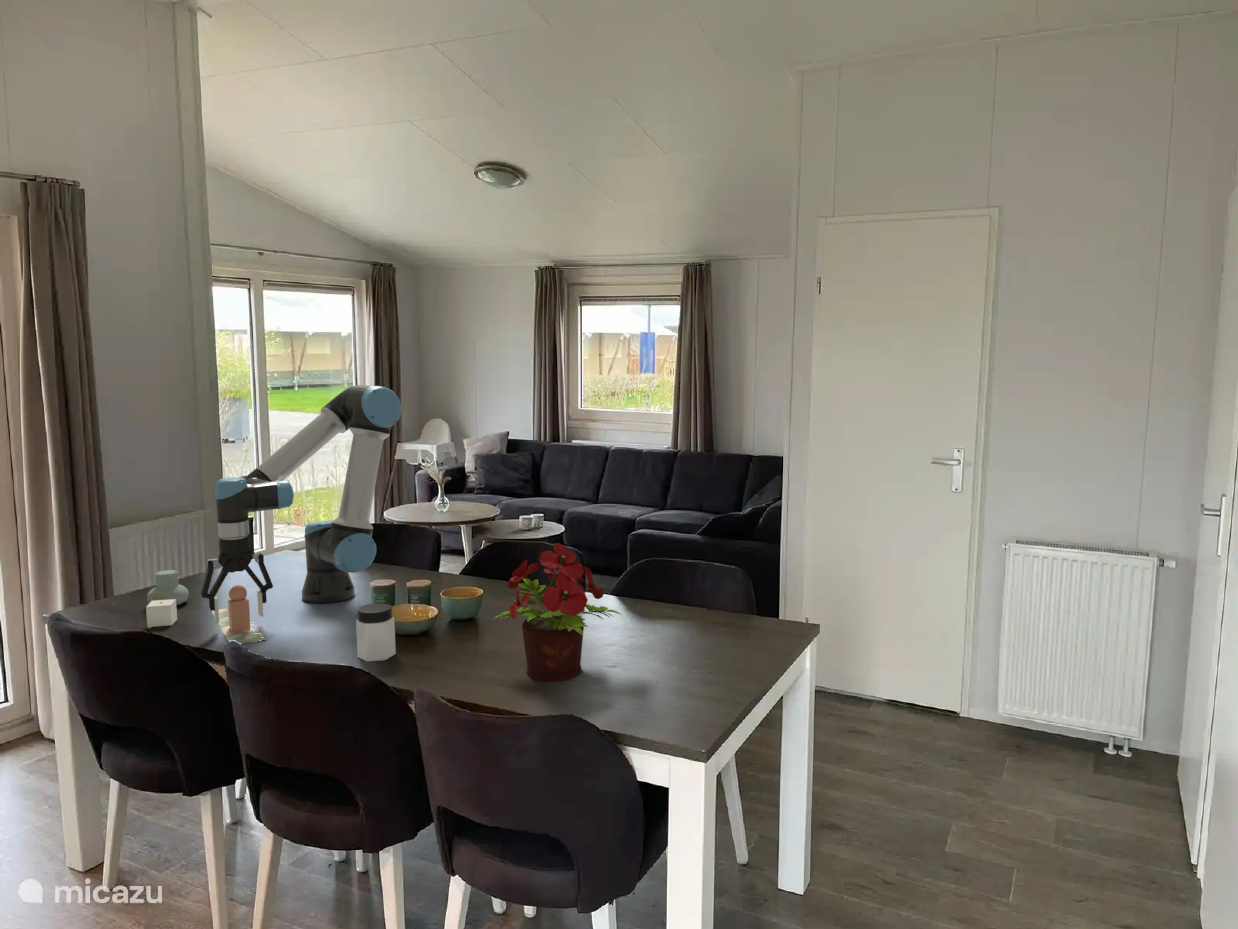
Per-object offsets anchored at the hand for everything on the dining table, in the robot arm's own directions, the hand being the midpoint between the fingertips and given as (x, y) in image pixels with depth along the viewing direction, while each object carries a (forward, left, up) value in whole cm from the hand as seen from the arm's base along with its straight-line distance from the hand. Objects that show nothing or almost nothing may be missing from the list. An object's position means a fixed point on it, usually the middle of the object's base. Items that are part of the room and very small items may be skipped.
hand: (239, 618), depth 237 cm
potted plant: (-59, +72, -3) cm, 93 cm away
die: (+17, -17, -3) cm, 24 cm away
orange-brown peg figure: (0, 0, -3) cm, 3 cm away
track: (0, -4, -3) cm, 5 cm away
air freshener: (+14, -36, -3) cm, 39 cm away
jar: (-25, +40, -3) cm, 47 cm away
